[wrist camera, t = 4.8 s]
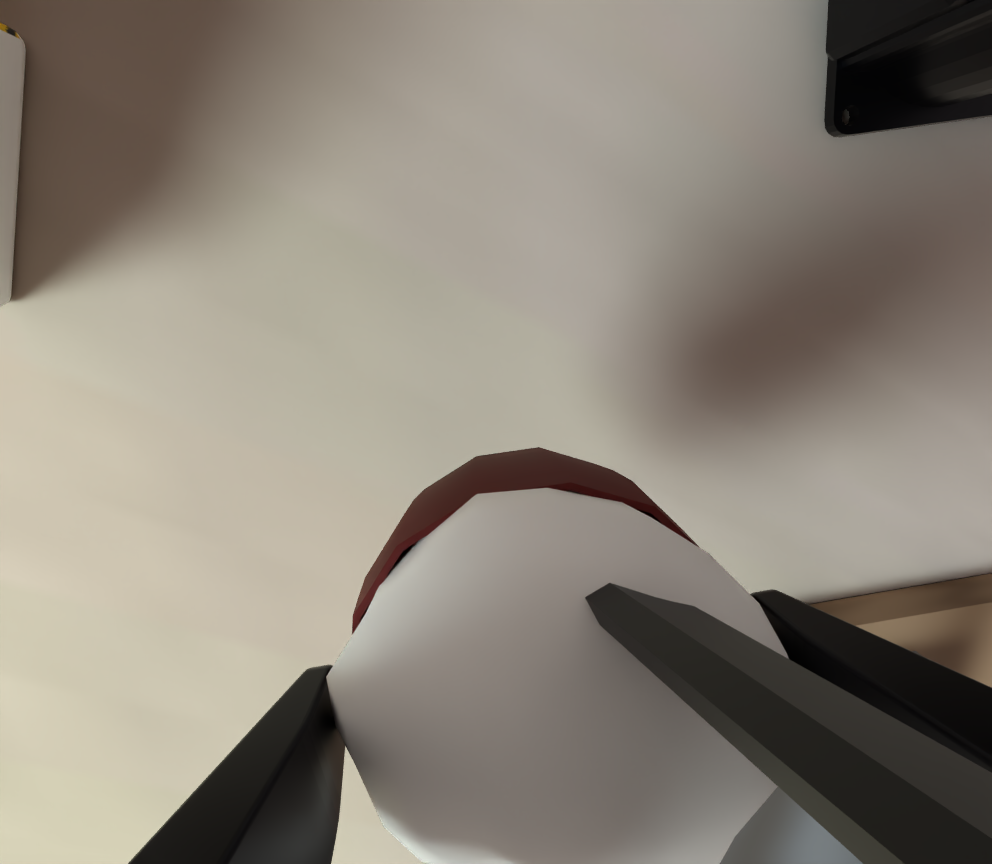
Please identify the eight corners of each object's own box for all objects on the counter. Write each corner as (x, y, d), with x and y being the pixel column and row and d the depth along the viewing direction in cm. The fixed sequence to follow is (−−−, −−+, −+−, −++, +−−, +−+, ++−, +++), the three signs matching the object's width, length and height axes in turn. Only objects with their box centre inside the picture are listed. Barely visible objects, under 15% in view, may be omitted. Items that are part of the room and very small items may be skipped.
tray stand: (1014, 569, 22) (1117, 628, 19) (951, 868, 28) (1021, 954, 25) (476, 661, 21) (482, 739, 18) (528, 949, 27) (540, 1048, 24)
